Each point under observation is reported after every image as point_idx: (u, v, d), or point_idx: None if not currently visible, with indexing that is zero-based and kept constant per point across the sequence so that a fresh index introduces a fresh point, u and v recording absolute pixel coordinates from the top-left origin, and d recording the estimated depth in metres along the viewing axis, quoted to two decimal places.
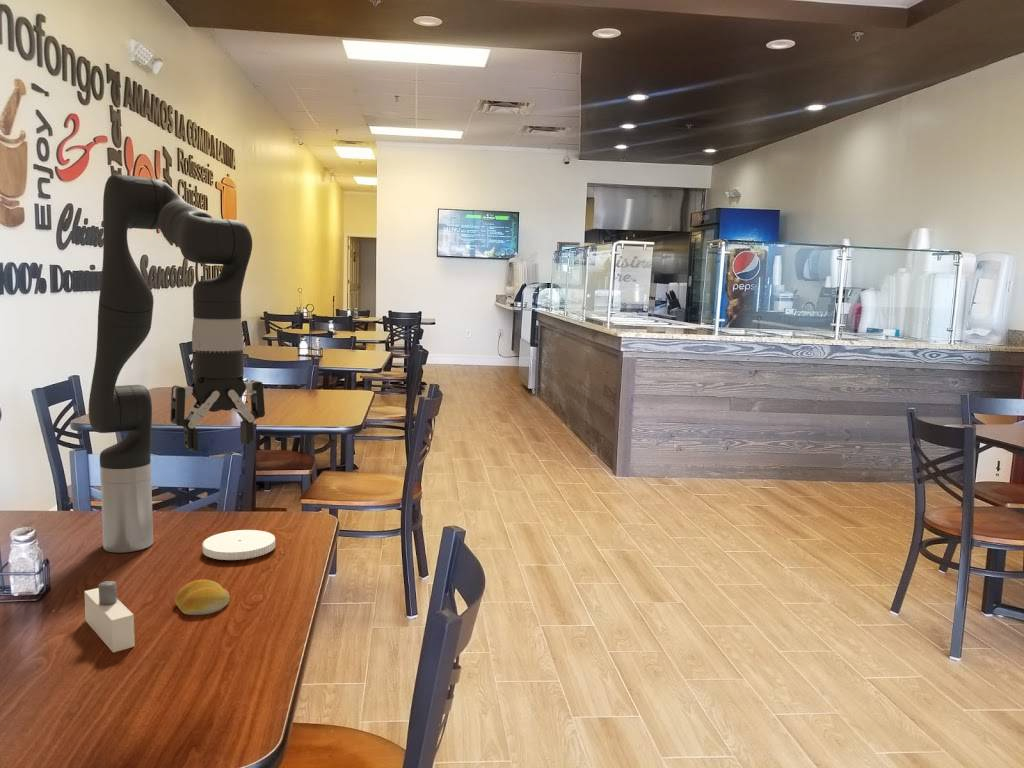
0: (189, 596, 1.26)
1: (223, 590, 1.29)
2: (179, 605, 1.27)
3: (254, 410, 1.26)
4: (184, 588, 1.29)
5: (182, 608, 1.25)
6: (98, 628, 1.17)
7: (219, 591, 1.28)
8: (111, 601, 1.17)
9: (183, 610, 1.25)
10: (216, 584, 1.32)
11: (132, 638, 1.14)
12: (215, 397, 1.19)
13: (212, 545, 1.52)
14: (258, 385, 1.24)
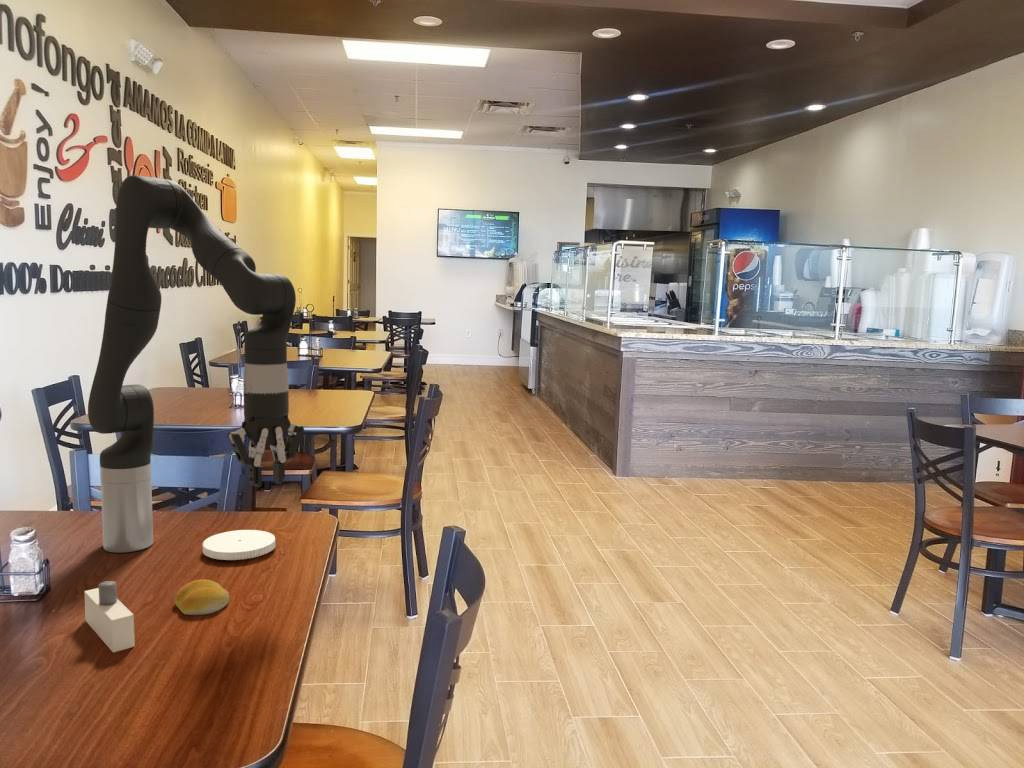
0: (189, 596, 1.26)
1: (223, 590, 1.29)
2: (179, 605, 1.27)
3: (286, 450, 1.37)
4: (184, 588, 1.29)
5: (182, 608, 1.25)
6: (98, 628, 1.17)
7: (218, 591, 1.28)
8: (111, 601, 1.17)
9: (183, 610, 1.25)
10: (216, 584, 1.32)
11: (132, 638, 1.14)
12: (265, 434, 1.32)
13: (212, 545, 1.52)
14: (300, 429, 1.37)
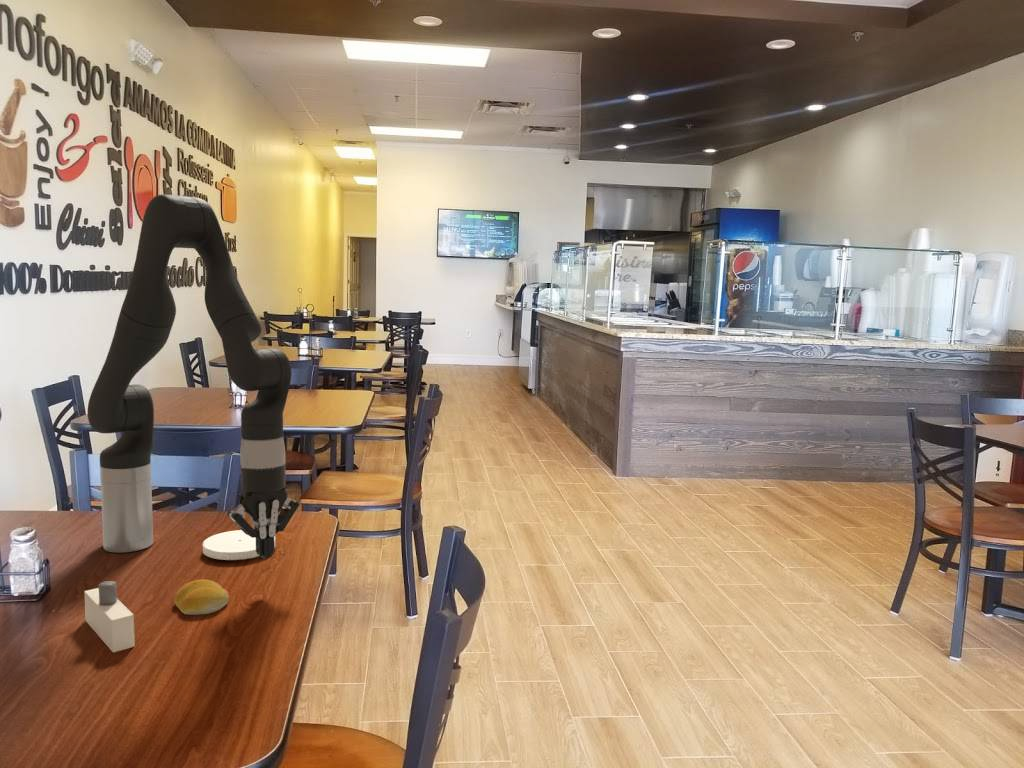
0: (188, 596, 1.26)
1: (222, 590, 1.29)
2: (178, 605, 1.27)
3: (277, 522, 1.37)
4: (183, 588, 1.29)
5: (181, 608, 1.25)
6: (98, 628, 1.17)
7: (218, 590, 1.28)
8: (111, 601, 1.17)
9: (182, 610, 1.25)
10: (215, 584, 1.32)
11: (132, 638, 1.14)
12: (263, 507, 1.33)
13: (212, 545, 1.52)
14: (295, 504, 1.38)
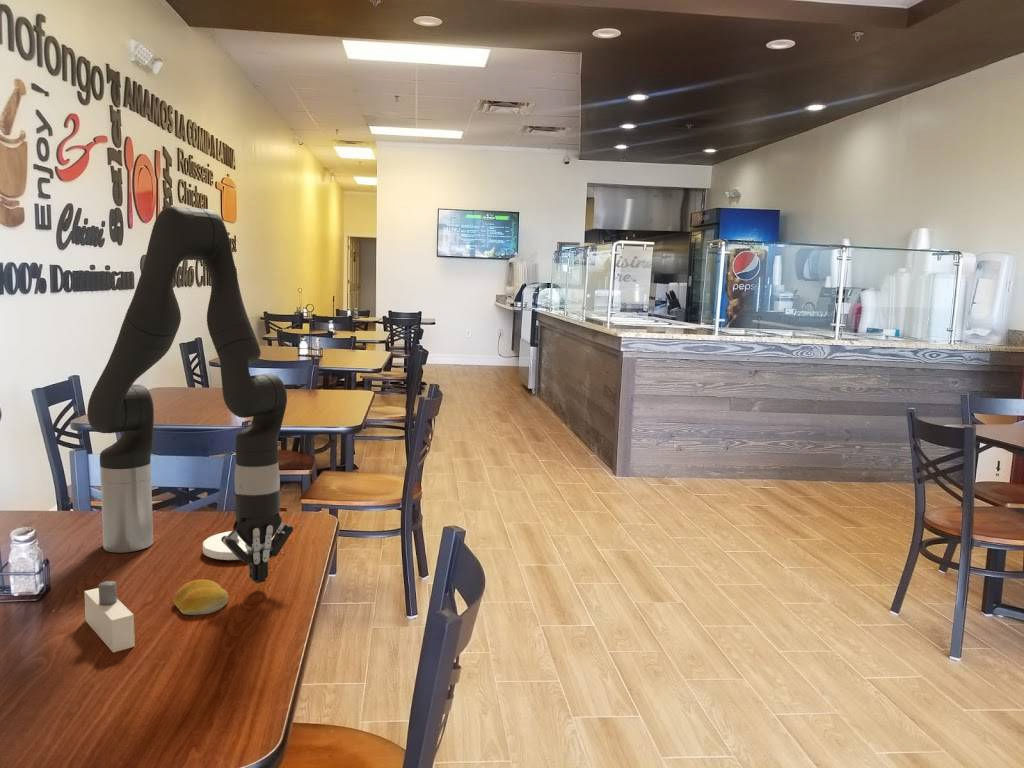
0: (188, 596, 1.26)
1: (222, 590, 1.29)
2: (178, 605, 1.27)
3: (271, 547, 1.37)
4: (183, 588, 1.29)
5: (181, 608, 1.25)
6: (98, 628, 1.17)
7: (217, 590, 1.28)
8: (111, 601, 1.17)
9: (182, 610, 1.25)
10: (215, 584, 1.32)
11: (132, 638, 1.14)
12: (257, 533, 1.33)
13: (212, 545, 1.52)
14: (289, 529, 1.38)
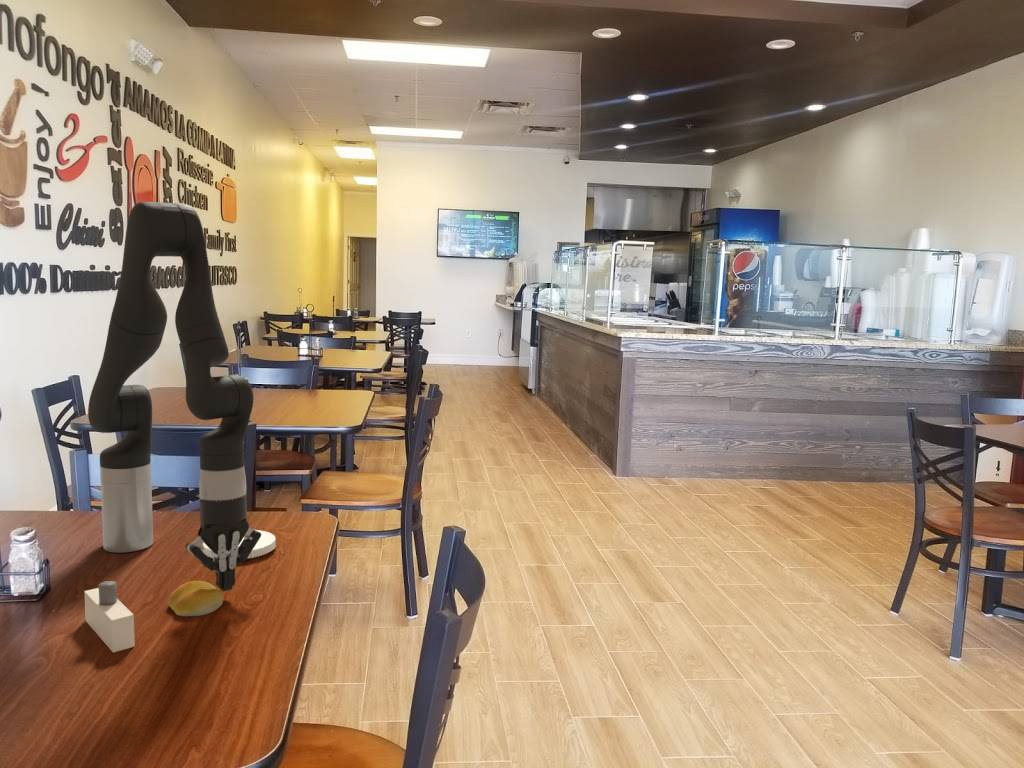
0: (183, 597, 1.26)
1: (217, 591, 1.29)
2: (173, 606, 1.27)
3: (238, 554, 1.33)
4: (178, 589, 1.28)
5: (176, 610, 1.25)
6: (98, 628, 1.17)
7: (213, 592, 1.28)
8: (111, 601, 1.17)
9: (177, 612, 1.25)
10: (210, 585, 1.31)
11: (132, 638, 1.14)
12: (223, 539, 1.29)
13: None
14: (257, 535, 1.34)
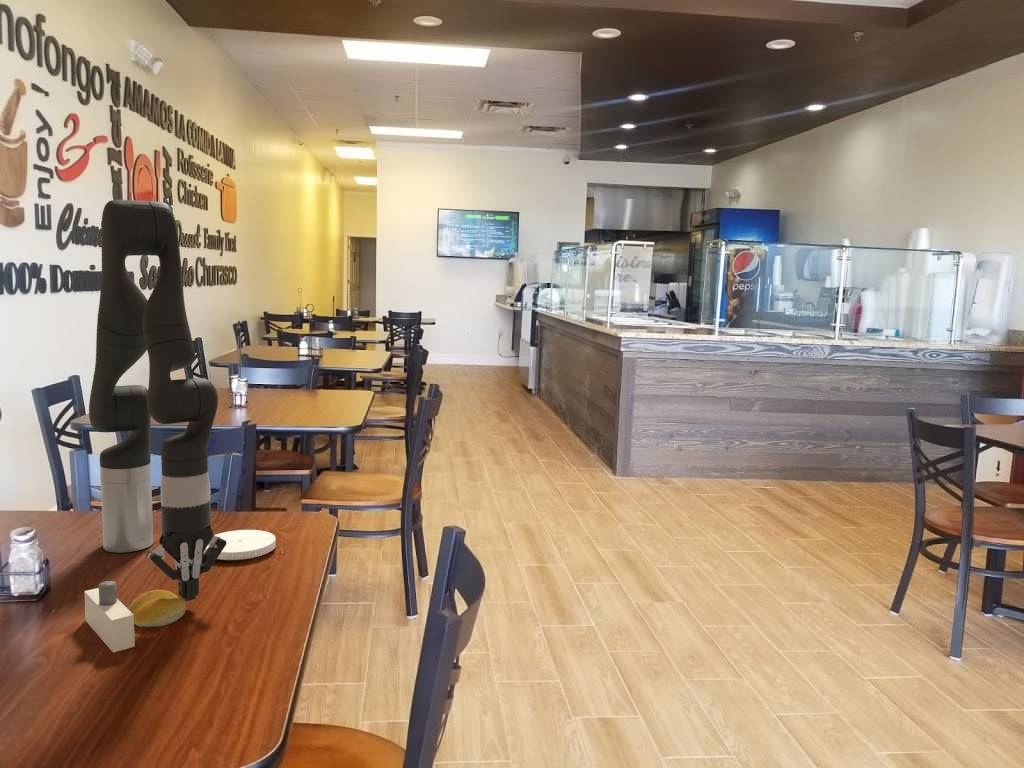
0: (142, 607, 1.21)
1: (179, 601, 1.25)
2: None
3: (202, 562, 1.29)
4: (137, 599, 1.24)
5: (135, 620, 1.21)
6: (98, 628, 1.17)
7: (174, 601, 1.24)
8: (111, 601, 1.17)
9: (136, 622, 1.20)
10: (172, 594, 1.27)
11: (132, 638, 1.14)
12: (185, 548, 1.24)
13: None
14: (222, 543, 1.29)
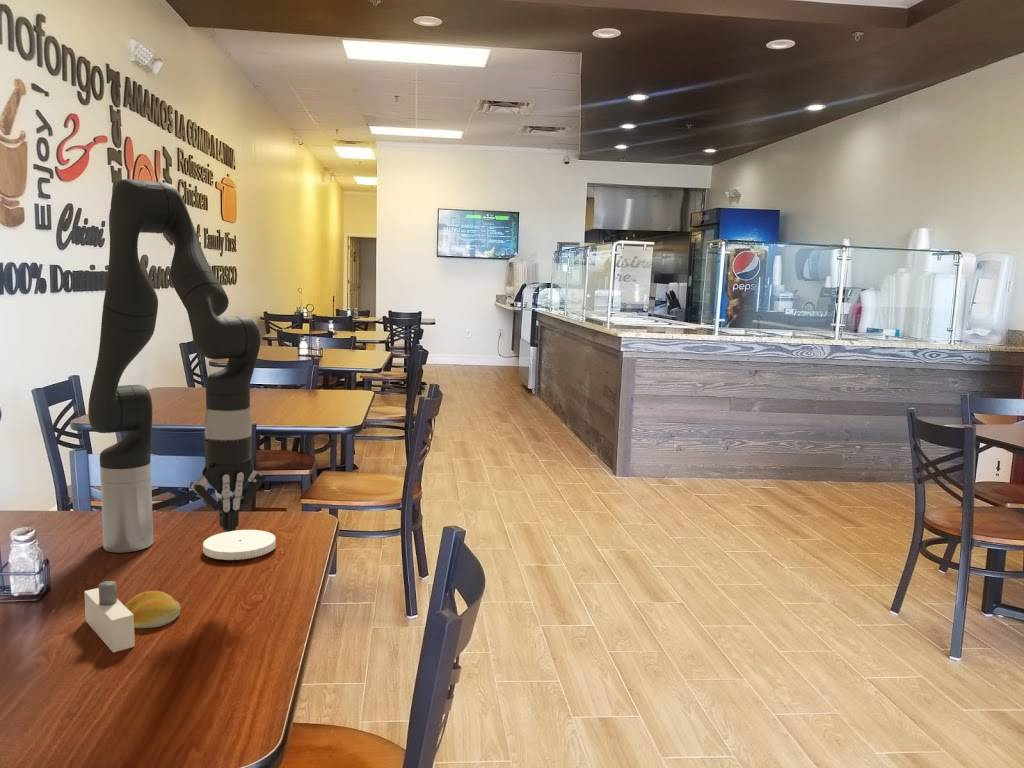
0: (137, 609, 1.21)
1: (173, 602, 1.24)
2: None
3: (242, 495, 1.34)
4: (132, 600, 1.23)
5: None
6: (98, 628, 1.17)
7: (169, 602, 1.23)
8: (111, 601, 1.17)
9: None
10: (166, 595, 1.26)
11: (132, 638, 1.14)
12: (227, 480, 1.29)
13: (212, 545, 1.52)
14: (261, 477, 1.34)
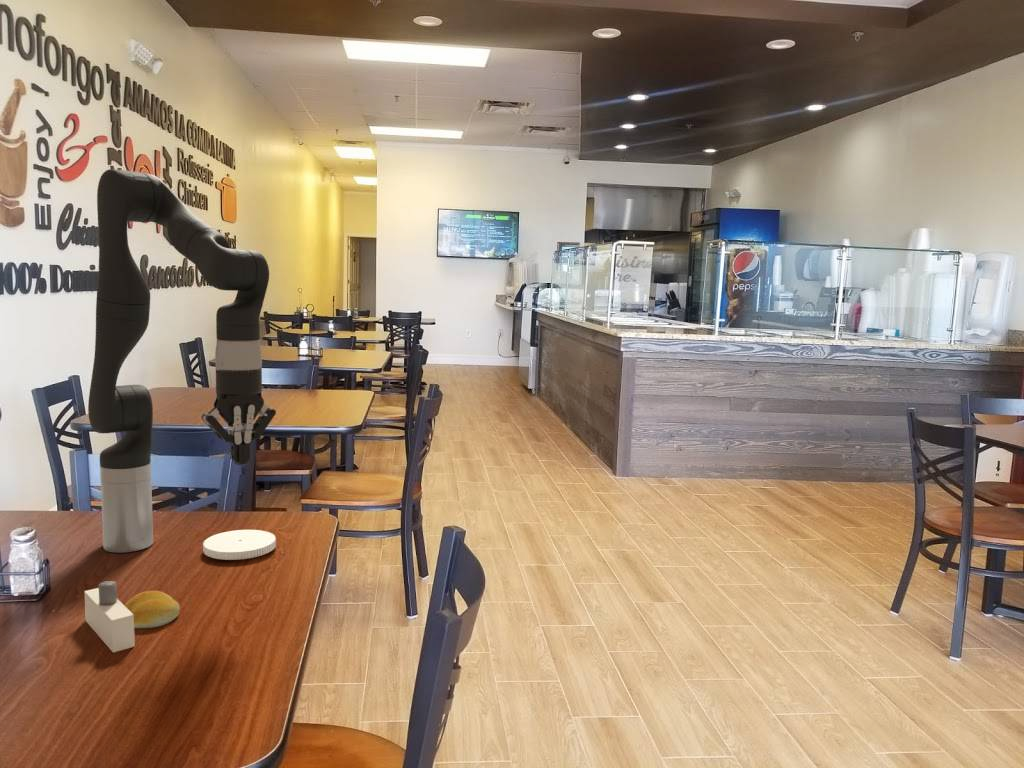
0: (136, 609, 1.21)
1: (173, 602, 1.24)
2: None
3: (253, 430, 1.35)
4: (131, 600, 1.23)
5: None
6: (98, 628, 1.17)
7: (168, 602, 1.23)
8: (111, 601, 1.17)
9: None
10: (166, 595, 1.26)
11: (132, 638, 1.14)
12: (238, 411, 1.30)
13: (213, 545, 1.52)
14: (272, 411, 1.35)
